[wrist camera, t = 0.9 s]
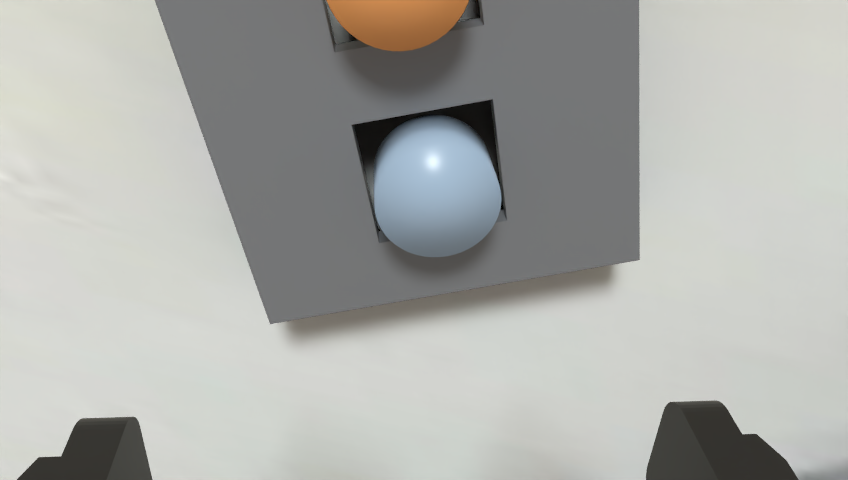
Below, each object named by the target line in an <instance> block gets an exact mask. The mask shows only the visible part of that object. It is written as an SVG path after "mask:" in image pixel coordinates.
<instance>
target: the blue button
mask: <svg viewBox="0 0 848 480" xmlns="http://www.w3.org/2000/svg"><path fill="white" fill-rule="evenodd" d="M374 207H375V215H376V218H377V221H378V224H379V226H380V228H381V230H382V231H383V233H384V234H385V235H386V236H387V238H388V239H389V240H390V241H391V242H393V243H394V244H395V245H396V246H398V247H400V248H401V249H403V250H405V251H407V252H409V253H412V254H415V255H419V256H424V257H445V256H450V255H455V254H458V253H461V252H463V251H465V250H467V249H469V248H471V247H473V246H474V245H476V244H477V243H479V242H480V241H481V240H482V239H483V238H484V237H485V236H486V235H487V234H488V233H489V232H490V230H491V229H492V228H493V226H494V224H495V222H496V220H497V218H498V216H499V212H500V208H501V190H500V185H499V182H498V179H497V176H496V173H495V170H494V167H493V164H492V161H491V158H490V155H489V153H488V150H487V147H486V145H485V143H484V141H483V139H482V138H481V137H480V135H479V134H478V133H477V132H476V131H475V130H474V129H473V128H472V127H470V126H469V125H468V124H466V123H464V122H462V121H460V120H458V119H455V118H452V117H449V116H443V115H425V116H420V117H416V118H413V119H410V120H408V121H406V122H404V123H402V124H400V125H399V126H397V127H396V128H394V129H393V130H392V131H391V132H390V133H389V134H388V135H387V136H386V137H385V138H384V140H383V141H382V143H381V144H380V146H379V148H378V150H377V153H376V156H375V160H374Z"/></svg>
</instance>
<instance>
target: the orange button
mask: <svg viewBox="0 0 848 480" xmlns="http://www.w3.org/2000/svg"><path fill="white" fill-rule="evenodd" d="M327 2H328V5H329V7H330V9H331V11H332V13H333V14H334V16H335V18H336V19H337V20H338V22H339V23H340V24H341V25H342V26H343V27H344V28H345V29H346V30H347V31H348V32H349V33H350V34H351V35H352V36H354V37H355V38H356V39H358V40H360V41H361V42H363V43H365V44H367V45H370V46H372V47H375V48H378V49H382V50H388V51H408V50H414V49H418V48H421V47H424V46H426V45H429V44H431V43H433V42H435V41H436V40H438V39H439V38H441V37H442V36H444V35H445V34H446V33H447V32H448V31H449V30H450V29H451V28H452V27H453V26H454V25H455V24H456V23H457V21H458V20H459V19H460V17H461V16H462V14H463V12H464V11H465V8H466V6H467V4H468V2H469V0H327Z"/></svg>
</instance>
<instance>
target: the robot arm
mask: <svg viewBox="0 0 848 480" xmlns="http://www.w3.org/2000/svg"><path fill="white" fill-rule="evenodd" d="M17 480H152V476H151V472H150V468H149V463H148V459H147V455H146V450H145V446H144V442H143V438H142V433H141V429H140V425H139V422H138V420H137V419H136V418H135V417H115V418H83V419H80V420H79V421H78V422H77V423H76V425H75V426H74V428H73V431H72V433H71V435H70V437H69V440H68V442H67V444H66V447H65V449H64V451H63V454H62V456H61V457H39V458H38V459H37V460H36V461H35V462H34V463H33V464H32V465H31V466H30V467H29V468H28V469H27V470H26V471H25V472H24V473H23V474H22V475H21V476H20V477H19V478H18V479H17ZM646 480H798V478H797V477H796V475H795V473H794V472H793V470H792V469H791V467H790V466H789V464H788V462H787V461H786V460H785V459H784V458H783V457H782V456H781V455H780V454H779V453H777V452H776V451H775V450H774V449H773V448H772V447H771V446H769V445H768V444H767V443H766V442H765V441H764V440H763V439H761V438H760V437H759V436H758V435H757V434H743V435H742V433H741V432H740V430H739V428H738V427H737V425H736V423H735V422H734V420H733V418H732V417H731V415H730V413H729V411H728V410H727V408H726V407H725V406H724V405H723V404H722V403H721V402H719V401H690V402H670V403H668V404H667V405H666V407H665V409H664V412H663V415H662V418H661V422H660V425H659V429H658V432H657V435H656V439H655V442H654V446H653V449H652V453H651V456H650V459H649V463H648V467H647V473H646Z"/></svg>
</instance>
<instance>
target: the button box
mask: <svg viewBox="0 0 848 480" xmlns="http://www.w3.org/2000/svg"><path fill="white" fill-rule="evenodd" d="M155 2H156V5H157V8H158V10H159V13H160V16H161V19H162V22H163V25H164V27H165V30H166V33H167V36H168V39H169V41H170V44H171V47H172V50H173V53H174V55H175V58H176V61H177V64H178V67H179V69H180V72H181V75H182V78H183V81H184V83H185V86H186V89H187V92H188V95H189V97H190V100H191V103H192V106H193V109H194V112H195V114H196V117H197V120H198V123H199V126H200V128H201V131H202V134H203V137H204V140H205V142H206V145H207V148H208V151H209V154H210V156H211V159H212V162H213V165H214V168H215V170H216V173H217V176H218V179H219V182H220V184H221V187H222V190H223V193H224V196H225V199H226V201H227V204H228V207H229V210H230V213H231V215H232V218H233V221H234V224H235V227H236V229H237V232H238V235H239V238H240V241H241V243H242V246H243V249H244V252H245V255H246V257H247V260H248V263H249V266H250V269H251V272H252V274H253V277H254V280H255V283H256V286H257V288H258V291H259V294H260V297H261V300H262V302H263V305H264V308H265V311H266V314H267V316H268V319H269V322H270V324H273V323H279V322H285V321H291V320H296V319H302V318H308V317H314V316H319V315H325V314H331V313H337V312H342V311H348V310H354V309H360V308H365V307H371V306H377V305H383V304H388V303H394V302H400V301H406V300H411V299H417V298H423V297H429V296H435V295H440V294H446V293H452V292H458V291H463V290H469V289H475V288H481V287H486V286H492V285H498V284H504V283H509V282H515V281H521V280H527V279H532V278H538V277H544V276H550V275H555V274H561V273H567V272H573V271H578V270H584V269H590V268H596V267H602V266H607V265H613V264H619V263H625V262H630V261H636V260H640V254H639V0H479V9H480V17H481V18H477V19H472V20H466V21H461V22H457V23H456V24H455V25H454V26H453V27H452V28H451V29H450V30H449V31H448V32H447V33H446V34H445V35H444V36H442V37H441V38H439V39H438V40H436V41H435V42H433V43H431V44H429V45H426V46H424V47H421V48H418V49H414V50H408V51H388V50H382V49H378V48H375V47H372V46H370V45H367V44H365V43H363V42H361V41H360V40H357V41H352V42H346V43H341V44H335V41H334V36H333V32H332V28H331V23H330V19H329V15H328V10H327V6H326V2H325V0H155ZM486 100H491V109H492V117H493V125H494V134H495V142H496V151H497V159H498V167H499V176H500V184H501V192H502V201H503V210H500V212H499V216H498V218H497V220H496V222H495V224H494V226H493V228H492V229H491V230H490V232H489V233H488V234H487V235H486V236H485V237H484V238H483V239H482V240H481V241H480V242H479V243H477V244H476V245H474V246H473V247H471V248H469V249H467V250H465V251H463V252H461V253H458V254H455V255H450V256H445V257H424V256H419V255H415V254H412V253H409V252H407V251H405V250H403V249H401V248H400V247H398V246H396V245H395V244H394V243H393V242H391V241H390V240H389V239H388V238H387V236H386V235H385V234H384V233H383V231H379V230H378V226H377V222H376V217H375V213H374V209H373V205H372V200H371V196H370V192H369V187H368V183H367V179H366V174H365V170H364V166H363V161H362V157H361V153H360V148H359V144H358V140H357V136H356V131H355V127H354V124H359V123H364V122H370V121H375V120H381V119H387V118H392V117H398V116H403V115H409V114H414V113H420V112H425V111H431V110H436V109H442V108H447V107H453V106H459V105H464V104H470V103H475V102H481V101H486Z"/></svg>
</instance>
